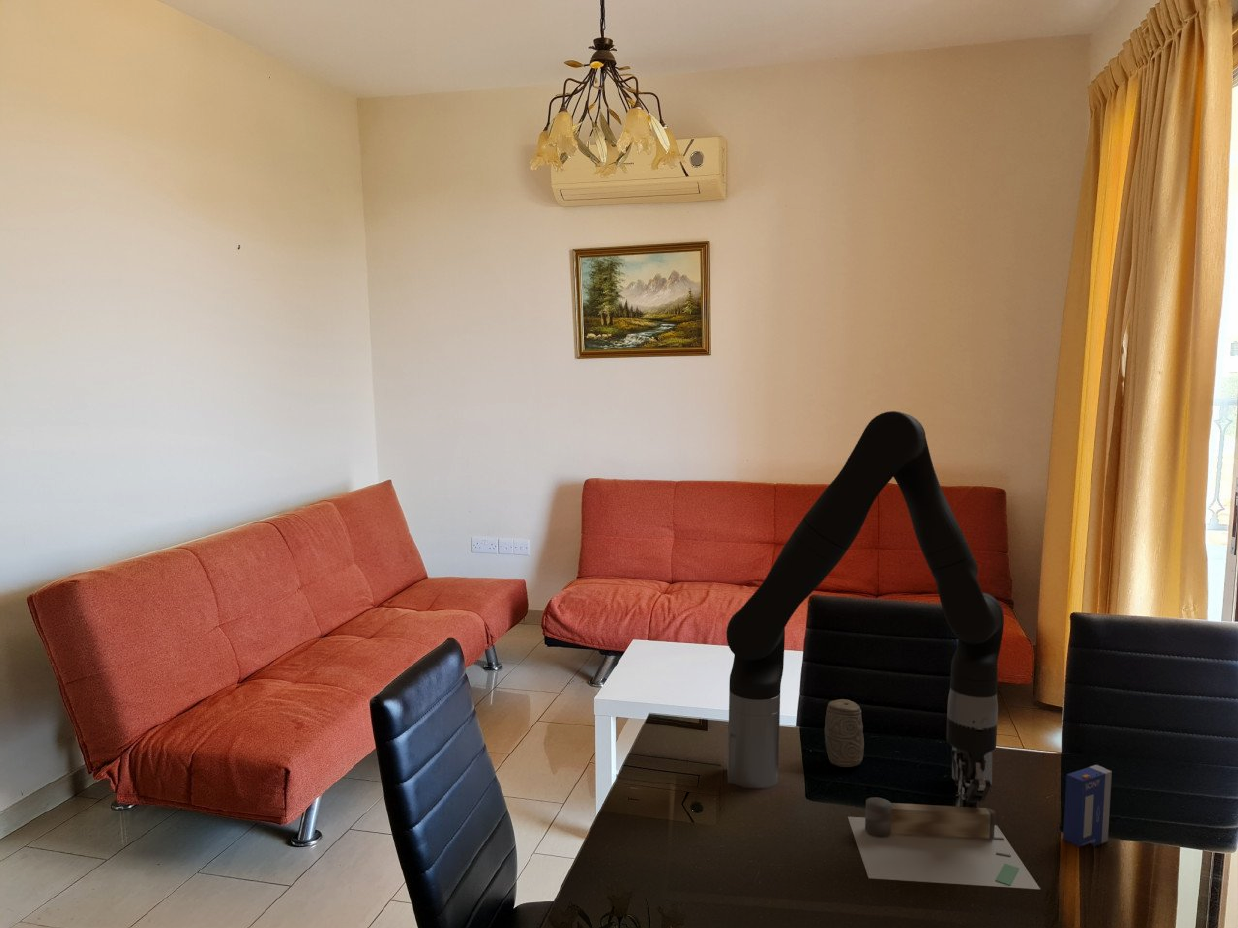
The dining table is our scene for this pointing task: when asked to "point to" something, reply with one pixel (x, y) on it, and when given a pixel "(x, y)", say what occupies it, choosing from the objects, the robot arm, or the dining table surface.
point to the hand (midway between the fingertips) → (967, 819)
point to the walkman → (1087, 806)
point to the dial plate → (941, 858)
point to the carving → (844, 733)
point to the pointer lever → (927, 820)
